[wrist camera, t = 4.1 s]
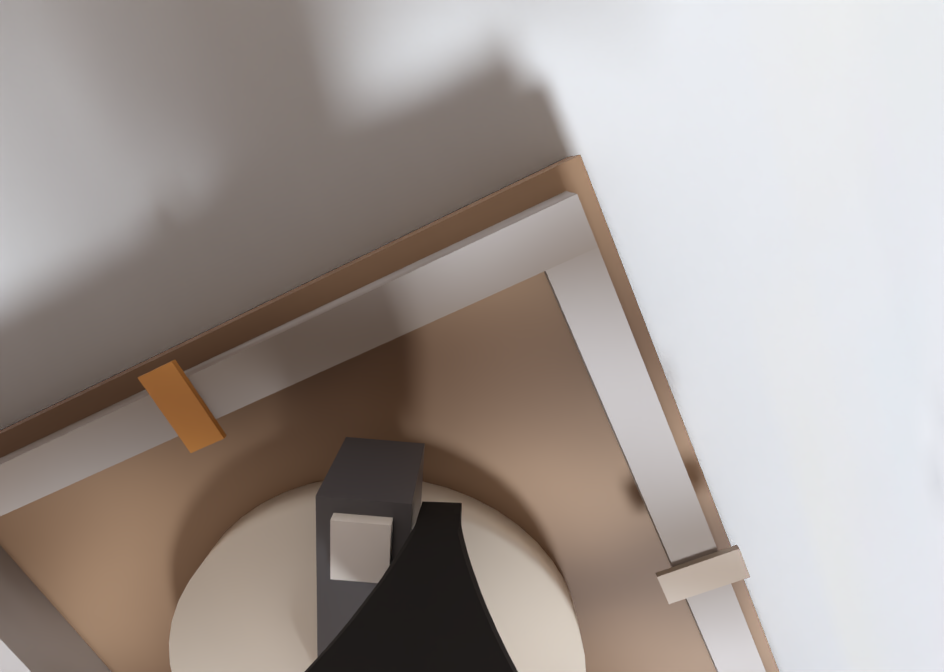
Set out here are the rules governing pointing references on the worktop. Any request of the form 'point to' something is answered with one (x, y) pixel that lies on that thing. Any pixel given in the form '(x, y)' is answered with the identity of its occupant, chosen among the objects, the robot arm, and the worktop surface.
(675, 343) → the worktop surface
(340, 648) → the robot arm
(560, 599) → the dial
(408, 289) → the dial housing
